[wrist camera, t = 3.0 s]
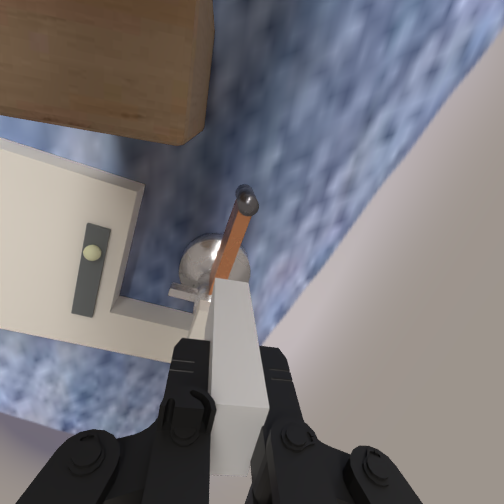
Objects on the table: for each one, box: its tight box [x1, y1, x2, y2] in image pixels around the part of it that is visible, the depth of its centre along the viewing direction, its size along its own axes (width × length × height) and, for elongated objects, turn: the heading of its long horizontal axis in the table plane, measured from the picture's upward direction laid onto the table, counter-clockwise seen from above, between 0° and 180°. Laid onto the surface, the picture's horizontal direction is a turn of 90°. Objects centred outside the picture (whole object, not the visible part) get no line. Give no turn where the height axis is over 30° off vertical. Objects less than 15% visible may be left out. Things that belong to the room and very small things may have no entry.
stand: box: [0, 137, 210, 363], centre depth 35 cm, size 22×33×12 cm, turn 70°
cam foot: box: [168, 184, 259, 316], centre depth 36 cm, size 18×10×9 cm, turn 160°
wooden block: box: [0, 0, 215, 146], centre depth 23 cm, size 10×10×20 cm
